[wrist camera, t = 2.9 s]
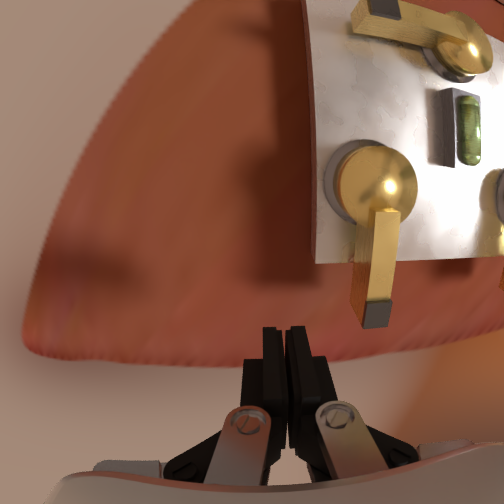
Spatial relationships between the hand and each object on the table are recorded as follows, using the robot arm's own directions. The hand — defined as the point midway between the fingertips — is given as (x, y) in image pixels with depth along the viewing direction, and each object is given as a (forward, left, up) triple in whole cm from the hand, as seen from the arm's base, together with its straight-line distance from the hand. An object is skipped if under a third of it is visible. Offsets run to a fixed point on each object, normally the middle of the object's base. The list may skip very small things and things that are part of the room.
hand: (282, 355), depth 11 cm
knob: (-3, +5, -7) cm, 9 cm away
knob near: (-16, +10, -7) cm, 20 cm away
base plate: (-10, +12, -9) cm, 18 cm away
